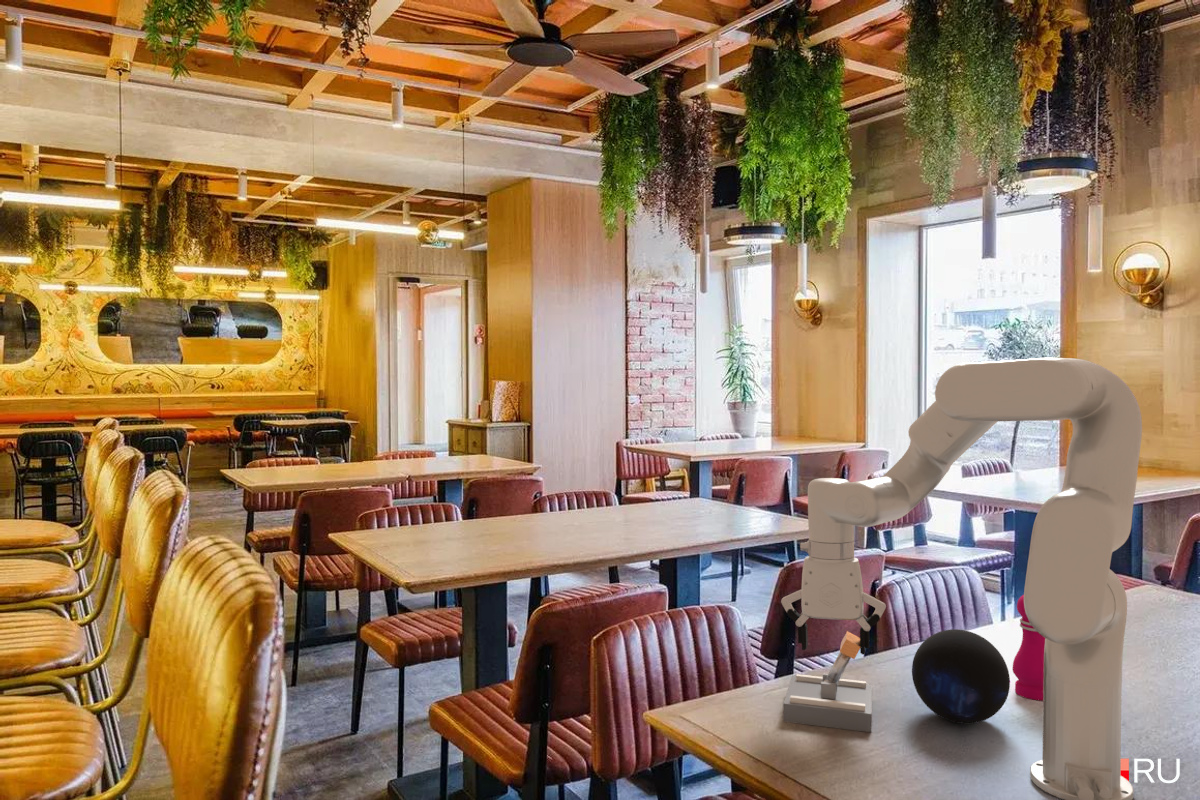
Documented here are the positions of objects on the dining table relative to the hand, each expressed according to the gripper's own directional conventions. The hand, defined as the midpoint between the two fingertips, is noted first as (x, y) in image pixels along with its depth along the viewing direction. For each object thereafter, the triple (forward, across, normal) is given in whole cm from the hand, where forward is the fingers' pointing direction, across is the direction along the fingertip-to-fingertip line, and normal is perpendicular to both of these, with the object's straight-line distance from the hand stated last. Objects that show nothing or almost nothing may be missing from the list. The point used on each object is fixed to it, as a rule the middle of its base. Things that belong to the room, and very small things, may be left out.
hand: (833, 650), depth 145 cm
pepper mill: (+12, +34, +21) cm, 41 cm away
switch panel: (+11, -1, 0) cm, 11 cm away
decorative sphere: (+11, +20, +3) cm, 23 cm away
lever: (+6, -1, 0) cm, 6 cm away
